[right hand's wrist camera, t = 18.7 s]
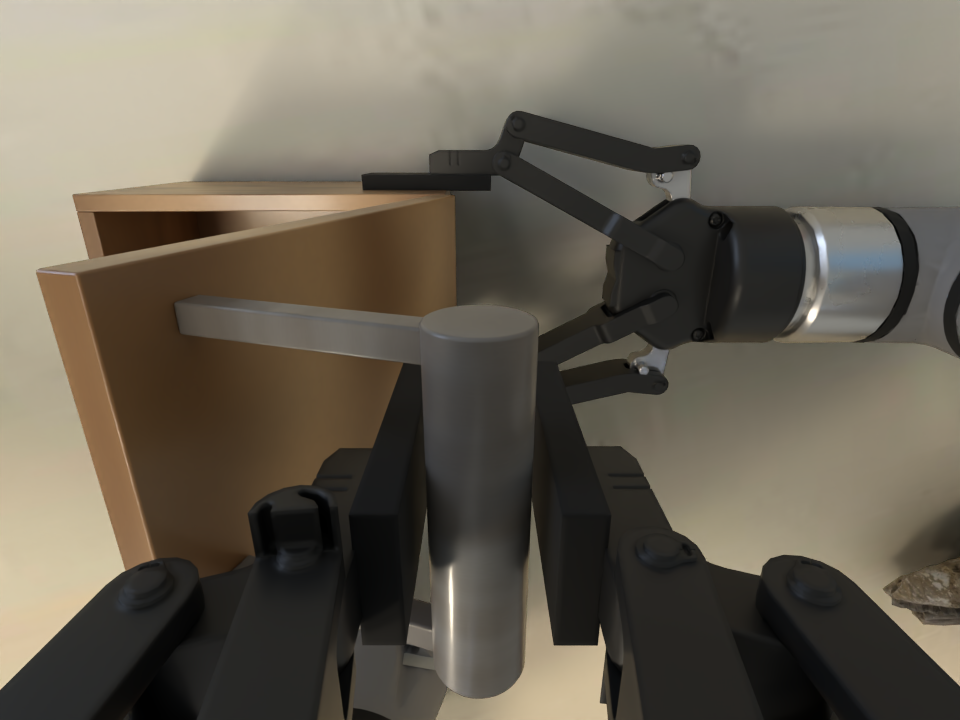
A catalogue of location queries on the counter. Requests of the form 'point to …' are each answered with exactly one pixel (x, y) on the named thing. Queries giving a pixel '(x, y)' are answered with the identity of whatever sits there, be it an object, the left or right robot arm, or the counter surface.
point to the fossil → (930, 593)
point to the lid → (311, 401)
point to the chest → (213, 210)
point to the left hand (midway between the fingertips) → (374, 275)
